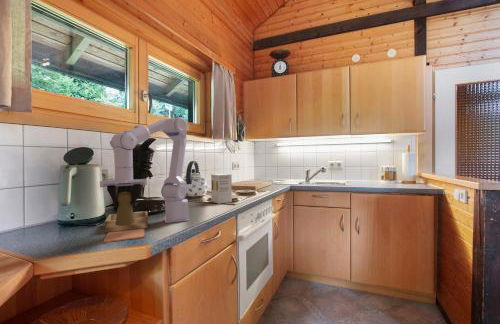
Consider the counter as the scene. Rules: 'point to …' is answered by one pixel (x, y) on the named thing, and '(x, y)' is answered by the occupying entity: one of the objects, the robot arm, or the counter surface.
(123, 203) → the cork
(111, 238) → the terracotta tile
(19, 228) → the counter surface
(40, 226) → the counter surface
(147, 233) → the counter surface
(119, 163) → the robot arm
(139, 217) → the birch box
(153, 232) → the counter surface
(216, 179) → the supplement box
